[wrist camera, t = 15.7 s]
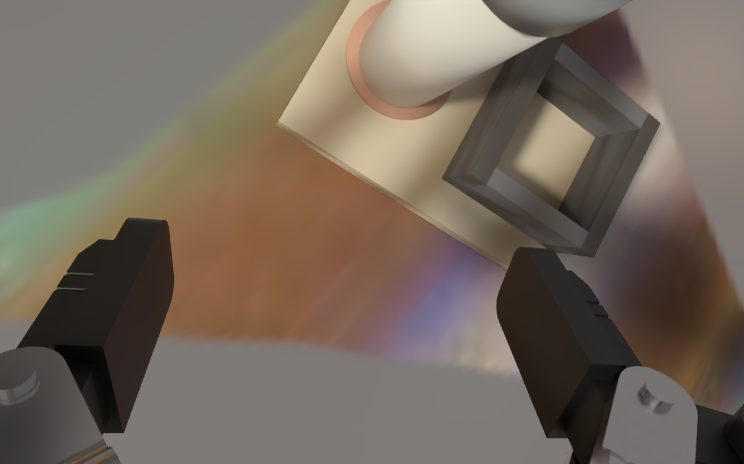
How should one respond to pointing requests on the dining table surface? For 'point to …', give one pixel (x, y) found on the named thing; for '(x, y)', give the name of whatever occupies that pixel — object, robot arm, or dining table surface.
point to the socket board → (482, 143)
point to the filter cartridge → (459, 41)
